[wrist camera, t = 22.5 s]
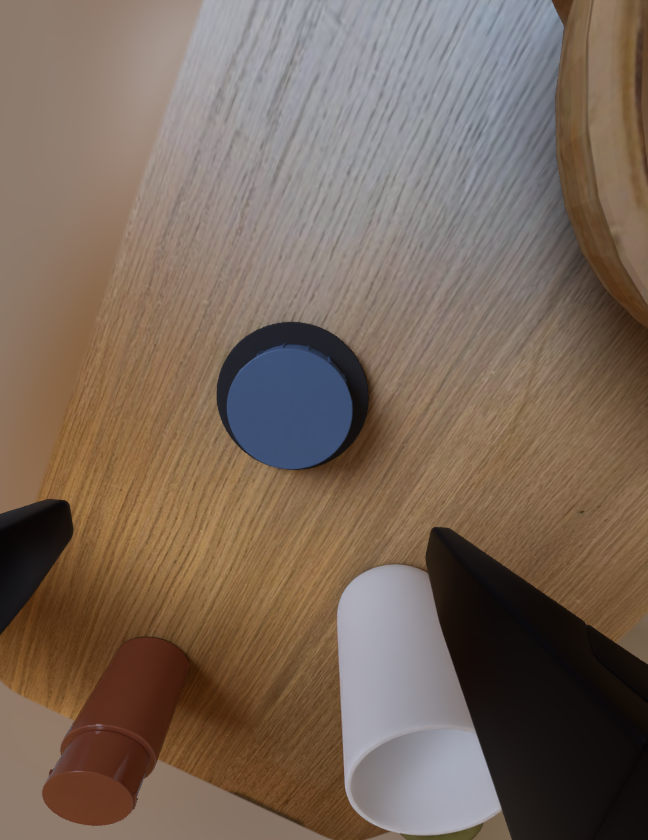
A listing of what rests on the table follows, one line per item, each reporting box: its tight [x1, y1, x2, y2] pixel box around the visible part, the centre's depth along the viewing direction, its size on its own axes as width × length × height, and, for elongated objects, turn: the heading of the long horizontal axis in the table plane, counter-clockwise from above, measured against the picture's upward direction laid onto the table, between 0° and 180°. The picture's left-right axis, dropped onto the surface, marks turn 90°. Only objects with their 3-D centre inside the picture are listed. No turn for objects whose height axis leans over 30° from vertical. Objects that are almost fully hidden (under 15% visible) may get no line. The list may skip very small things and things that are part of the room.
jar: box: [42, 637, 189, 826], centre depth 24 cm, size 6×6×8 cm
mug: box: [337, 564, 502, 835], centre depth 21 cm, size 12×8×10 cm
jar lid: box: [227, 343, 353, 469], centre depth 19 cm, size 7×7×2 cm
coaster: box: [217, 322, 369, 470], centre depth 21 cm, size 9×9×1 cm
